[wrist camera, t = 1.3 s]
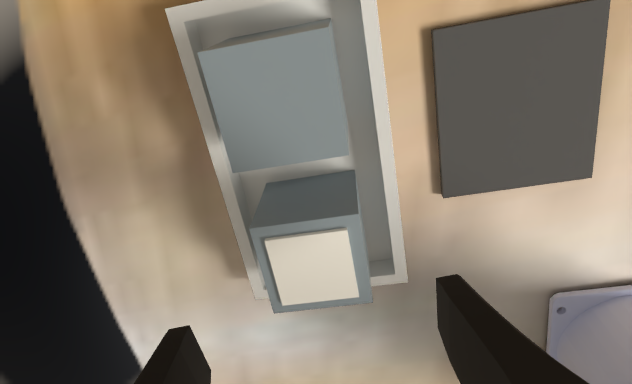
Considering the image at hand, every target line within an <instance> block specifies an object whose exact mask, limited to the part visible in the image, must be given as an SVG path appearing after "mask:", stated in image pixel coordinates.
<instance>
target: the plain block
mask: <svg viewBox="0 0 632 384" xmlns="http://www.w3.org/2000/svg"><path fill="white" fill-rule="evenodd" d="M197 53H198V57H199V60H200V63H201V67H202V70H203V74H204V77H205V81H206V84H207V87H208V91H209V94H210V98H211V101H212V104H213V108H214V111H215V115H216V118H217V121H218V125H219V128H220V132H221V135H222V138H223V142H224V145H225V149H226V152H227V156H228V159H229V162H230V166H231V169H232V173H238V172H245V171H251V170H258V169H264V168H270V167H277V166H283V165H290V164H296V163H303V162H309V161H316V160H322V159H328V158H335V157H341V156H348V155H349V143H348V126H347V117H346V110H345V104H344V98H343V91H342V85H341V78H340V72H339V66H338V59H337V53H336V47H335V40H334V34H333V28H332V21H331V18H330V19H325V20H320V21H315V22H310V23H305V24H300V25H295V26H289V27H284V28H279V29H274V30H269V31H264V32H259V33H254V34H249V35H244V36H239V37H234V38H229V39H227V40H224V41H222V42H220V43H218V44H215V45H213V46H211V47H209V48H206V49H204V50H202V51H200V52H197Z"/></svg>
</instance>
